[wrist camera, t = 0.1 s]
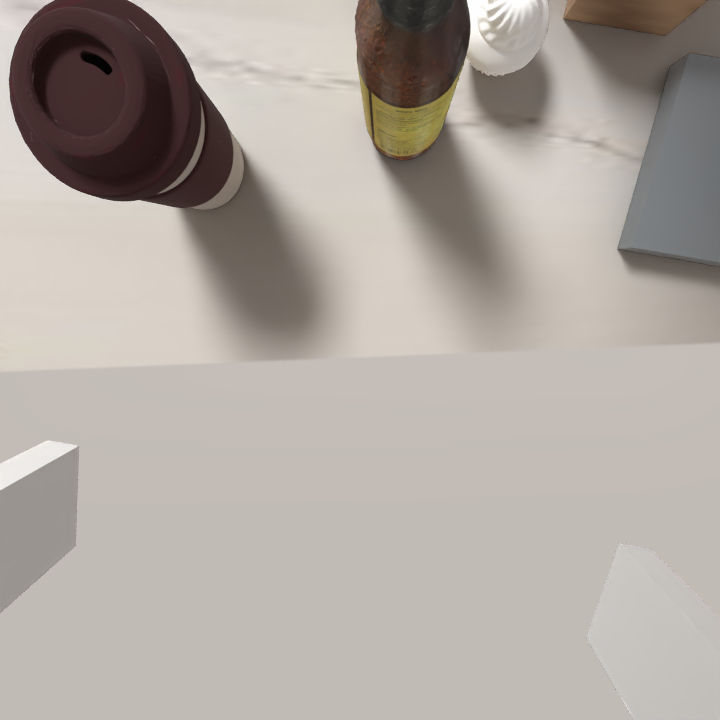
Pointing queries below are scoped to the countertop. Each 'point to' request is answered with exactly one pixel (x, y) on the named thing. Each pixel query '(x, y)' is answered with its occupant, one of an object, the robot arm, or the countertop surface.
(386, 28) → the sauce bottle
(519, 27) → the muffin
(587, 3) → the brown hollow block
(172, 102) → the coffee cup
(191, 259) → the countertop surface
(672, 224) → the shaft stand
